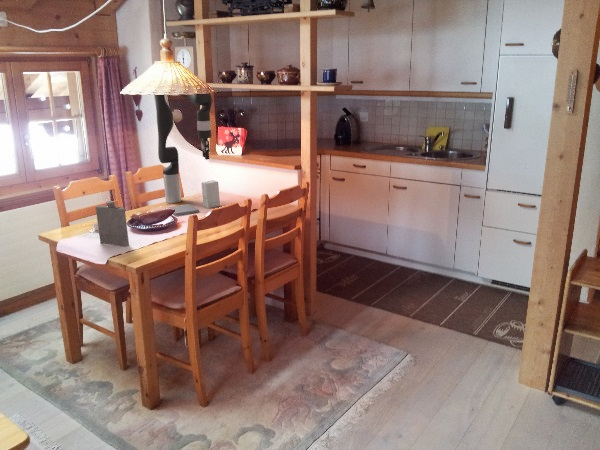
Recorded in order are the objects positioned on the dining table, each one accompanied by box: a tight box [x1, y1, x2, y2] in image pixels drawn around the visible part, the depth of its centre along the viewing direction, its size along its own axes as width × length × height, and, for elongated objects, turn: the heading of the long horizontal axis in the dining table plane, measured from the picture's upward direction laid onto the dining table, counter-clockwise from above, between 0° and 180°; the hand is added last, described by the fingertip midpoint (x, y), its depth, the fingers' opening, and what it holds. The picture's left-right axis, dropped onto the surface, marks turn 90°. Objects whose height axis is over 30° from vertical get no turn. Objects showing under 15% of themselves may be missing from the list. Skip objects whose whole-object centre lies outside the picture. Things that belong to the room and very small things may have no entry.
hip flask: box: [95, 200, 130, 247], centre depth 243 cm, size 16×4×20 cm, turn 67°
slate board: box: [166, 203, 200, 217], centre depth 300 cm, size 16×14×2 cm
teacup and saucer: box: [89, 221, 99, 233], centre depth 267 cm, size 9×8×4 cm
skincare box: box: [201, 179, 221, 209], centre depth 307 cm, size 8×6×15 cm
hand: (205, 158), depth 297 cm, fingers open, 8 cm apart
